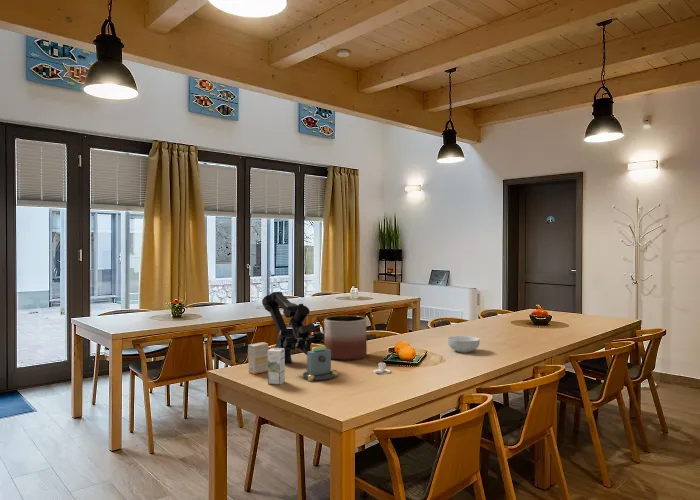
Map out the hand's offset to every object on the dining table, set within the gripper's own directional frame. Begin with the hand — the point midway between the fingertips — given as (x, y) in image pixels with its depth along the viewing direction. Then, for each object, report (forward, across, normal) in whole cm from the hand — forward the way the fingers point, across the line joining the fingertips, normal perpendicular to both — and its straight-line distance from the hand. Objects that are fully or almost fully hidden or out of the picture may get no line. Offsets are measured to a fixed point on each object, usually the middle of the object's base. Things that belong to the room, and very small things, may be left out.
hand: (309, 355), depth 230 cm
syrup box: (+11, -20, -1) cm, 22 cm away
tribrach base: (+12, 0, -1) cm, 12 cm away
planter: (-7, +30, +22) cm, 38 cm away
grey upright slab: (+11, 0, -3) cm, 11 cm away
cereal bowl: (+10, +91, +8) cm, 92 cm away
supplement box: (-4, -20, +15) cm, 25 cm away
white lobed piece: (+16, +27, -3) cm, 31 cm away
